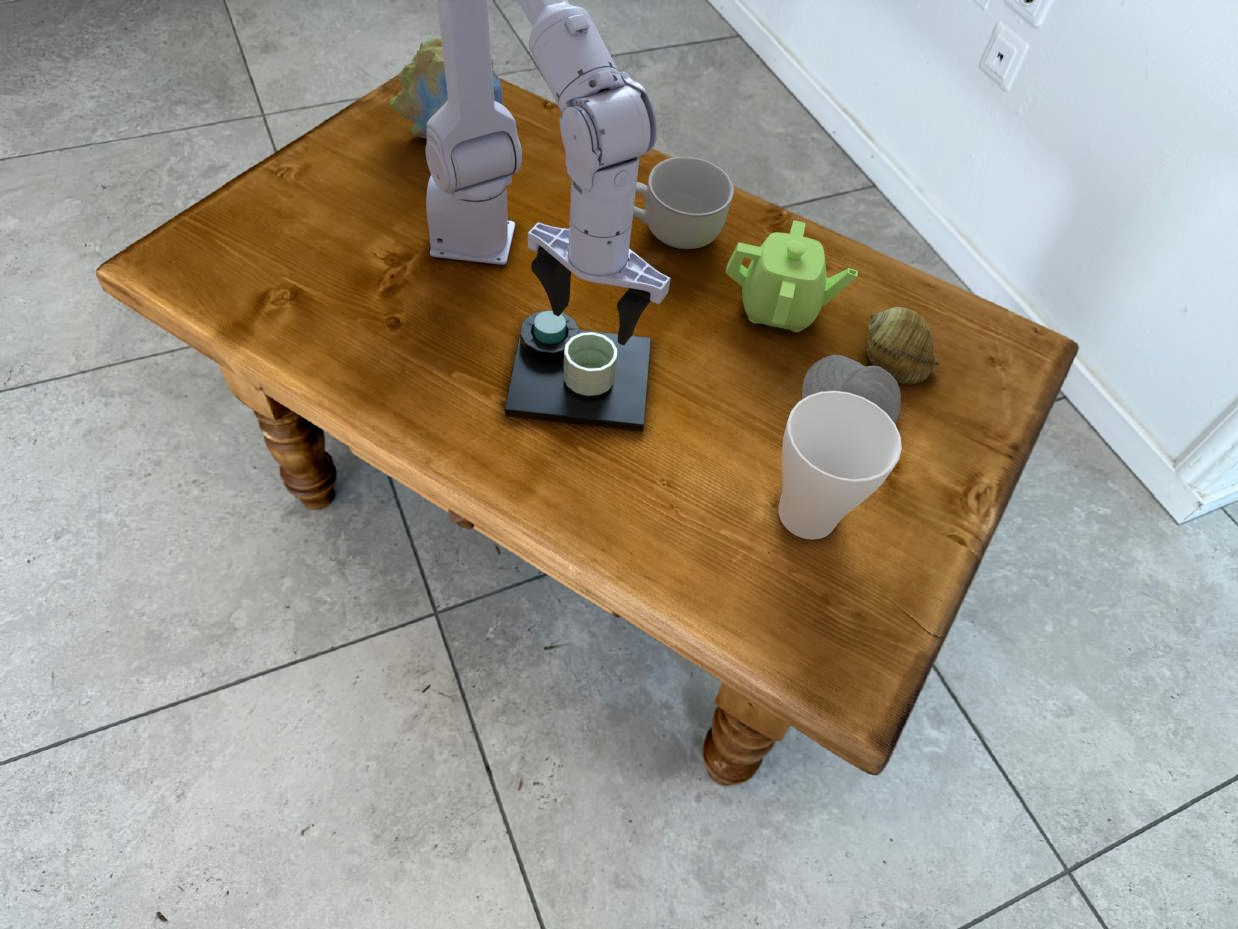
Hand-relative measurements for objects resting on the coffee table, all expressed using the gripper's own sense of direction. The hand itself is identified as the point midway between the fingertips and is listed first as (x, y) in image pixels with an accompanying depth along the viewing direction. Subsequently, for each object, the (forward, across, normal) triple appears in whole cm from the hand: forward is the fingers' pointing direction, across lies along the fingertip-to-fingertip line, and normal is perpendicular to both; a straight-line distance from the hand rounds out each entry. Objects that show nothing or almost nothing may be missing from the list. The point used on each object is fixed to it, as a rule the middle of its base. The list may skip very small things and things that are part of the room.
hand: (592, 324), depth 91 cm
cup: (+10, -28, +4) cm, 30 cm away
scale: (+9, +1, 0) cm, 9 cm away
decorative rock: (+10, +39, -30) cm, 51 cm away
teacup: (+10, +4, -28) cm, 30 cm away
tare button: (+7, +6, -2) cm, 10 cm away
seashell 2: (+10, -29, -23) cm, 38 cm away
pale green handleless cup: (+8, 0, 0) cm, 8 cm away
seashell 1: (+10, -27, -11) cm, 31 cm away
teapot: (+10, -14, -23) cm, 29 cm away
